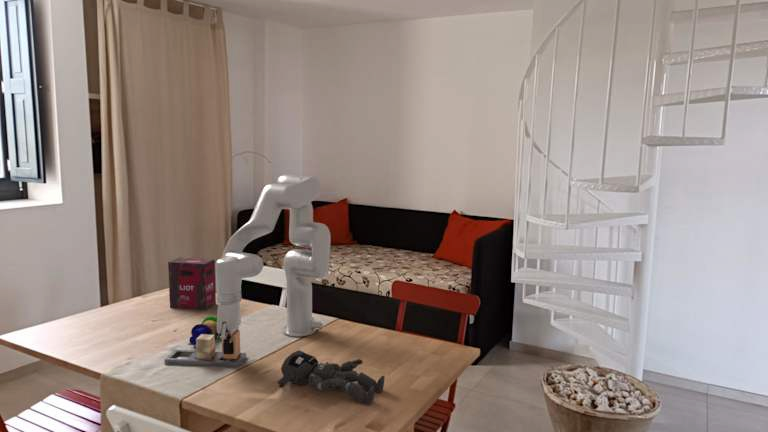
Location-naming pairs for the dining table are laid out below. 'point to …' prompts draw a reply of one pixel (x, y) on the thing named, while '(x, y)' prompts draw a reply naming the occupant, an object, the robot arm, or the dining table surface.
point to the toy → (204, 329)
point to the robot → (330, 376)
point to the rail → (191, 359)
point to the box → (192, 283)
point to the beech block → (205, 347)
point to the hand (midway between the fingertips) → (231, 350)
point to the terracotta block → (236, 345)
